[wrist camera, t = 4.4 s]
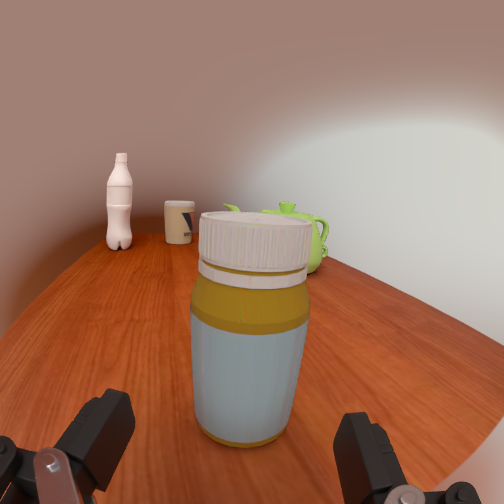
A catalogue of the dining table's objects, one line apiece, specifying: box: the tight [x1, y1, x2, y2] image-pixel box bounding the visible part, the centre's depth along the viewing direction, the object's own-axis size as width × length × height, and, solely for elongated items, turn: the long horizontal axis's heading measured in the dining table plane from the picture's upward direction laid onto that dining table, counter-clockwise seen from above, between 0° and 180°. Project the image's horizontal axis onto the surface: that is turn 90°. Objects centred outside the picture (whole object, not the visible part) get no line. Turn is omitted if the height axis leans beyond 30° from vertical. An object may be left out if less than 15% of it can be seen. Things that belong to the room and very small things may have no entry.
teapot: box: [223, 202, 329, 273], centre depth 61 cm, size 19×20×14 cm
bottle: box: [190, 212, 313, 448], centre depth 17 cm, size 7×7×15 cm
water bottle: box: [106, 153, 133, 250], centre depth 66 cm, size 7×7×25 cm
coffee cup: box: [164, 201, 195, 244], centre depth 81 cm, size 9×9×12 cm
